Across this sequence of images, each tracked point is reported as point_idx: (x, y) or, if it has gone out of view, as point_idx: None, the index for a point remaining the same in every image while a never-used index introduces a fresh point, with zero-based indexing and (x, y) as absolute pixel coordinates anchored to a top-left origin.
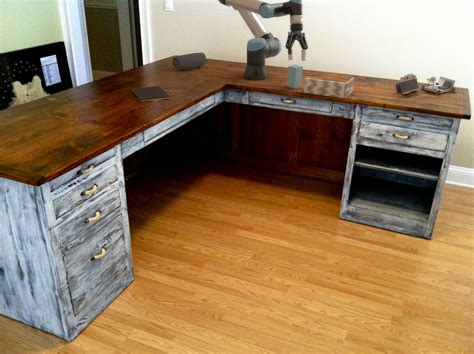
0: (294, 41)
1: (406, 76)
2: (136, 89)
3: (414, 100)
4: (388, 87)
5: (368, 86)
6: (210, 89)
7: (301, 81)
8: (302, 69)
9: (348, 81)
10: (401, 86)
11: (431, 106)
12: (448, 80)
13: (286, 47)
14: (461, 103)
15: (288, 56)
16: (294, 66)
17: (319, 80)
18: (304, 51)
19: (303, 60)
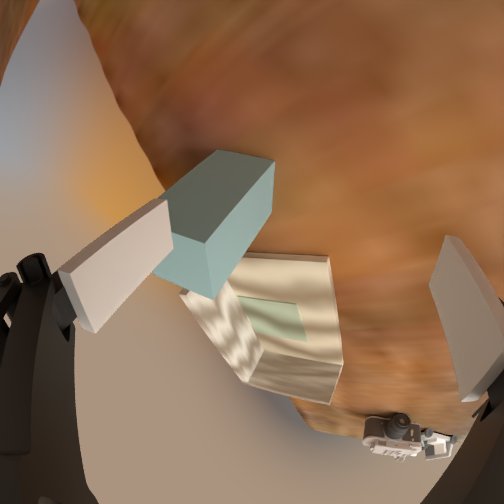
0: (76, 451)
1: (373, 452)
2: None
3: (344, 417)
4: (429, 406)
5: (424, 385)
6: (21, 19)
7: (258, 230)
8: (223, 284)
9: (269, 389)
10: (365, 430)
11: (324, 421)
12: (433, 456)
13: (17, 283)
14: None
15: (127, 220)
16: (166, 257)
17: (207, 334)
18: (462, 368)
19: (436, 264)
